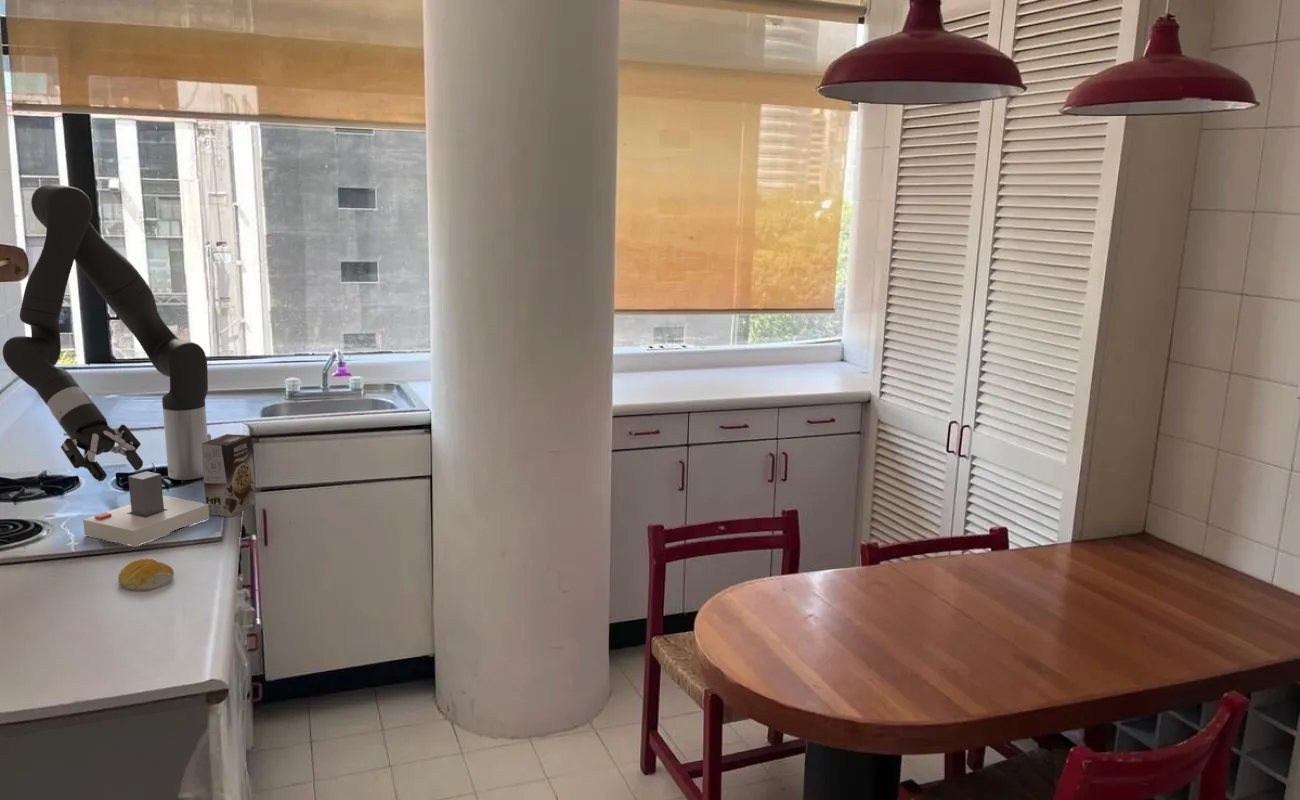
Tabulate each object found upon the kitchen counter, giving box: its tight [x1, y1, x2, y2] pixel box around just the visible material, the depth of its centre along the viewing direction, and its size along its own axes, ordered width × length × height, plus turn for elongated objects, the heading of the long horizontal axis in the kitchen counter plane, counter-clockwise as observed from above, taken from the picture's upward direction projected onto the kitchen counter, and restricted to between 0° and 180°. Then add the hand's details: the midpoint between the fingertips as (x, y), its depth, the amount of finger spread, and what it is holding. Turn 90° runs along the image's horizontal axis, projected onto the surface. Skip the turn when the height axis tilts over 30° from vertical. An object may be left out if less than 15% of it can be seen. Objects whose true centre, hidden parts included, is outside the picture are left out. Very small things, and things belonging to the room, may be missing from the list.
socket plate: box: [82, 494, 210, 548], centre depth 193 cm, size 18×14×4 cm
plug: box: [127, 470, 164, 518], centre depth 192 cm, size 4×4×10 cm
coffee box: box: [202, 433, 256, 518], centre depth 204 cm, size 9×6×16 cm
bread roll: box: [117, 558, 175, 592], centre depth 168 cm, size 8×9×4 cm
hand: (122, 473), depth 194 cm, fingers open, 8 cm apart
